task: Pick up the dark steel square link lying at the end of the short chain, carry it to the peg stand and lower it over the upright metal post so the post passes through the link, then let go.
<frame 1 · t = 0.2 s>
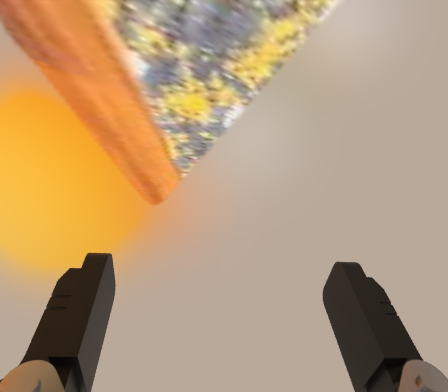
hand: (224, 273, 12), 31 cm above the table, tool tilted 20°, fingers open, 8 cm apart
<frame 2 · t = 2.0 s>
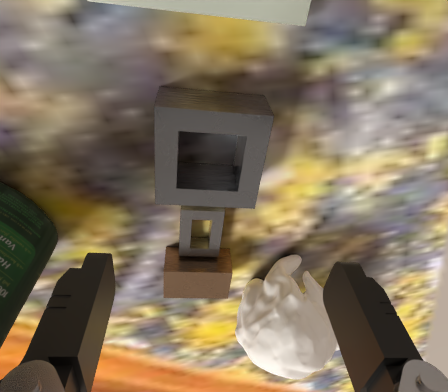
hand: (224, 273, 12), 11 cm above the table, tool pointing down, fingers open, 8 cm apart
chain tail: (197, 260, 27), on the table
link: (208, 138, 21), on the table
white lumpy piece: (293, 283, 30), on the table
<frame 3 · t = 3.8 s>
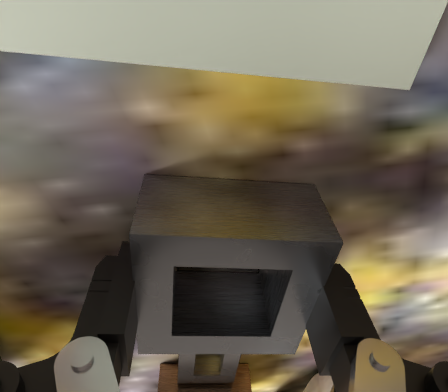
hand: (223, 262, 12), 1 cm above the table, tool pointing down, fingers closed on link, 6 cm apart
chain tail: (203, 376, 20), on the table
link: (222, 241, 13), on the table, touching gripper
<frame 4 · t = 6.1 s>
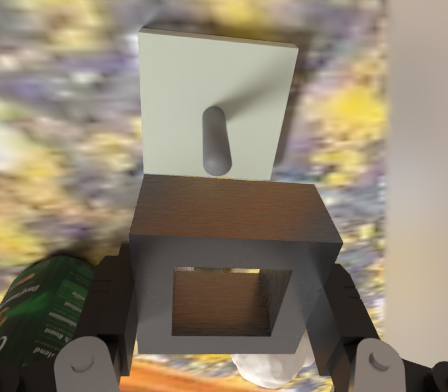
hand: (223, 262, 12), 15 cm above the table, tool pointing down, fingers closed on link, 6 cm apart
peg stand: (212, 109, 25), on the table
coffee jar: (64, 280, 35), on the table
link: (222, 241, 13), point 14 cm above the table, touching gripper
white lumpy piece: (275, 316, 41), on the table
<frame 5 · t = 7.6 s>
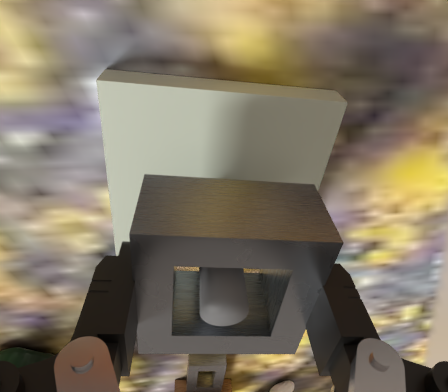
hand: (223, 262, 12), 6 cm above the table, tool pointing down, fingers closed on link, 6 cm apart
peg stand: (214, 177, 17), on the table
coffee jar: (22, 369, 27), on the table
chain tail: (202, 387, 31), on the table
link: (222, 241, 13), point 5 cm above the table, touching gripper
when the fingers open (5 cm above the table, at t = 8.7 s): link drops 2 cm, resting on peg stand.
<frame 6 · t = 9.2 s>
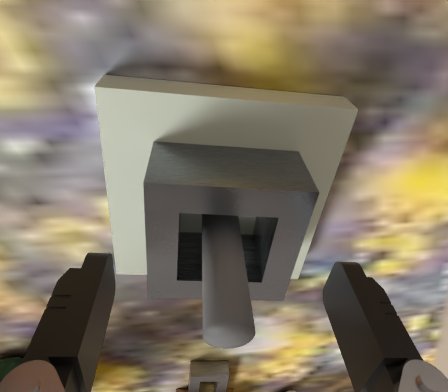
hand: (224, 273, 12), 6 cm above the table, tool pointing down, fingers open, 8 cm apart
peg stand: (217, 186, 17), on the table
coffee jar: (21, 379, 27), on the table
link: (220, 204, 15), point 1 cm above the table, touching peg stand
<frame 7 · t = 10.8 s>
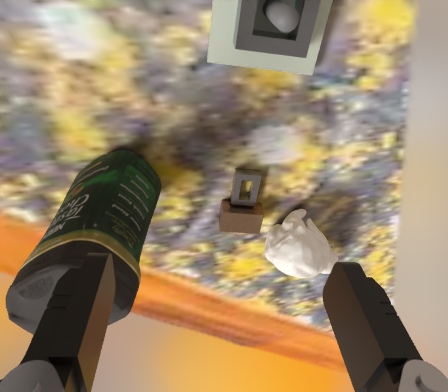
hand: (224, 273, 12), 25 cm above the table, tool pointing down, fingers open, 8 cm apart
peg stand: (269, 6, 29), on the table
coffee jar: (119, 180, 39), on the table
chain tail: (239, 210, 43), on the table
link: (272, 8, 28), point 1 cm above the table, touching peg stand
white lumpy piece: (300, 231, 45), on the table
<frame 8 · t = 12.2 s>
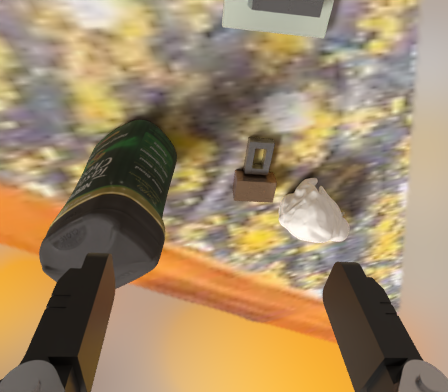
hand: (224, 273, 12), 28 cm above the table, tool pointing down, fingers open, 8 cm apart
coffee jar: (135, 152, 40), on the table
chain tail: (252, 180, 44), on the table
white lumpy piece: (311, 201, 47), on the table
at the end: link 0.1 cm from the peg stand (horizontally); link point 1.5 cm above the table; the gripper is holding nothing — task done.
